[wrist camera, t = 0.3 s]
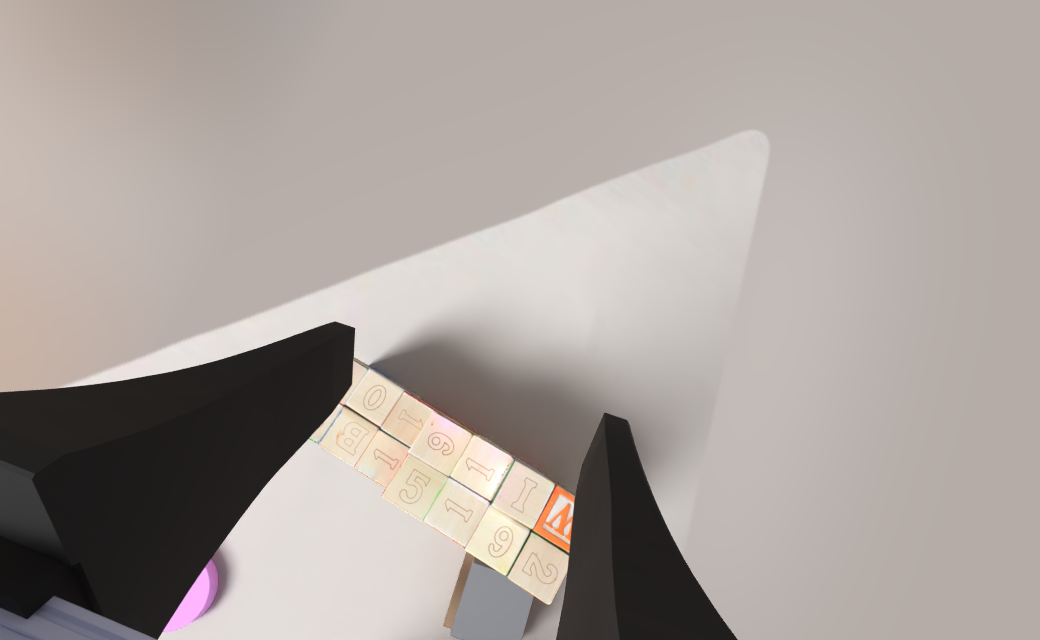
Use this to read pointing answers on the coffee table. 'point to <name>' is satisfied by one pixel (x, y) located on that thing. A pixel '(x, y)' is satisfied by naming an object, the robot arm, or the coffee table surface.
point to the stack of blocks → (454, 480)
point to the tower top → (491, 606)
